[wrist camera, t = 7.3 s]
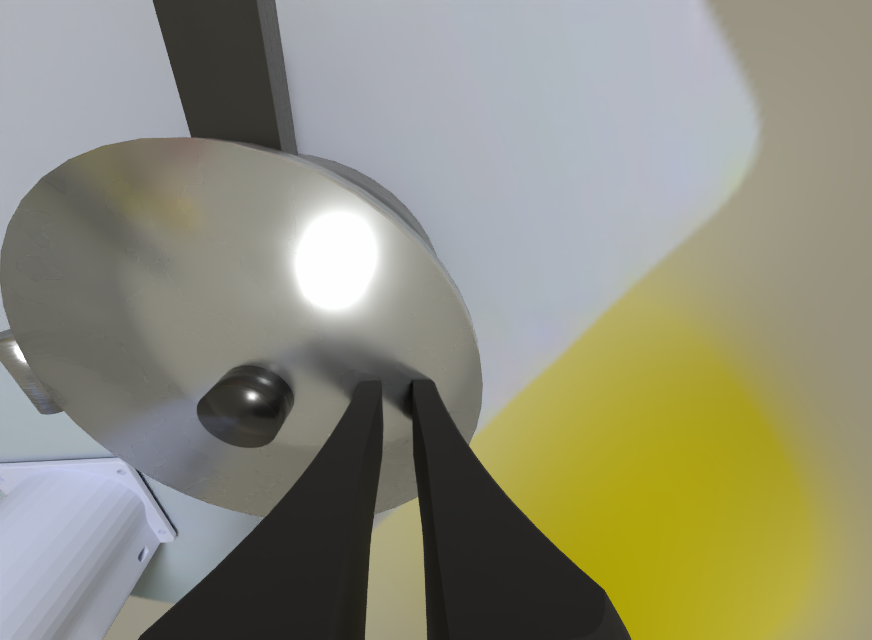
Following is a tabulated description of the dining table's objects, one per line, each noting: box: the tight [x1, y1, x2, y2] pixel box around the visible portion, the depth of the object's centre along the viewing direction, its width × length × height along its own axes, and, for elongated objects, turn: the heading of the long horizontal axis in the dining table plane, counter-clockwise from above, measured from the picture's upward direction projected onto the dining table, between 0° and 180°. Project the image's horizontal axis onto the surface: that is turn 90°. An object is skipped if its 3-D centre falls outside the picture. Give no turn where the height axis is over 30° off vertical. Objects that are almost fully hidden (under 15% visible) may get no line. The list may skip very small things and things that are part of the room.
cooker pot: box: [153, 0, 437, 256], centre depth 13 cm, size 20×14×5 cm
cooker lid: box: [0, 138, 483, 517], centre depth 11 cm, size 15×16×2 cm
